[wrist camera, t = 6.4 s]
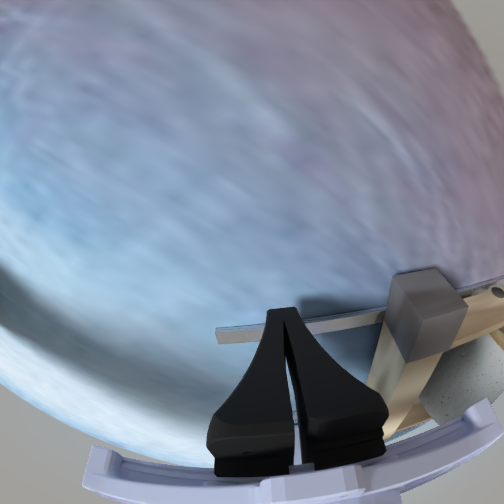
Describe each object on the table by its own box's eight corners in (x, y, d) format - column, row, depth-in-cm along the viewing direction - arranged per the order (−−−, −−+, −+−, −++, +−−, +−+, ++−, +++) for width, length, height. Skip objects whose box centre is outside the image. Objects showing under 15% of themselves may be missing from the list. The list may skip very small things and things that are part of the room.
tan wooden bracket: (456, 378, 20) (469, 404, 17) (354, 411, 21) (363, 445, 17) (514, 249, 13) (545, 276, 9) (391, 273, 13) (423, 319, 10)
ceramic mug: (497, 311, 17) (538, 367, 10) (444, 372, 20) (471, 431, 14) (445, 277, 15) (508, 357, 8) (376, 360, 18) (406, 445, 12)
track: (459, 371, 21) (460, 374, 20) (245, 420, 22) (245, 424, 21) (505, 274, 15) (508, 277, 14) (215, 328, 16) (215, 332, 15)
